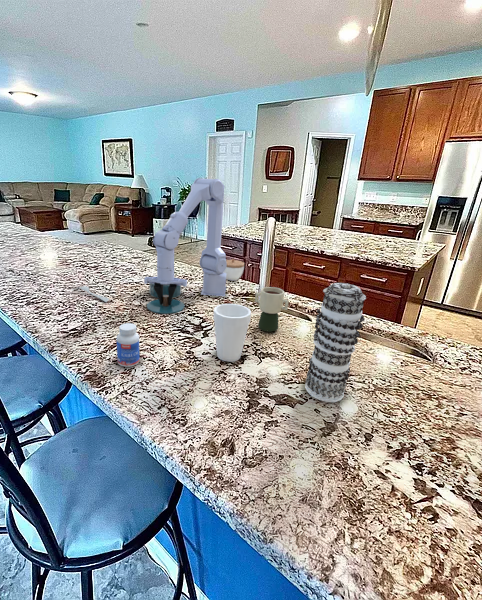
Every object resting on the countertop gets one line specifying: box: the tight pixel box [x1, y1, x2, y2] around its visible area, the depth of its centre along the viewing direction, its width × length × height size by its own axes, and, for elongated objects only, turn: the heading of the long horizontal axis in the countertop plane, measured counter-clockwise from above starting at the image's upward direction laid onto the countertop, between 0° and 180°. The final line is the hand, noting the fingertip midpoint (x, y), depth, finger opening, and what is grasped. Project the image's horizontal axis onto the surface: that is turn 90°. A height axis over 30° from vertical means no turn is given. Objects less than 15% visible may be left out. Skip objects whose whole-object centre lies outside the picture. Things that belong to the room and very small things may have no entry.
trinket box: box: [223, 258, 245, 282], centre depth 149 cm, size 11×11×9 cm
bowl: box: [148, 276, 182, 299], centre depth 126 cm, size 12×12×6 cm
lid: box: [146, 295, 185, 315], centre depth 113 cm, size 13×13×5 cm
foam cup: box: [212, 303, 252, 363], centre depth 83 cm, size 10×9×13 cm
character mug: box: [254, 286, 289, 333], centre depth 99 cm, size 11×7×13 cm, turn 54°
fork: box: [75, 285, 110, 303], centre depth 122 cm, size 3×21×3 cm, turn 54°
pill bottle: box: [116, 322, 140, 368], centre depth 79 cm, size 6×5×10 cm
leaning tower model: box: [304, 282, 367, 403], centre depth 69 cm, size 9×9×25 cm
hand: (165, 303), depth 113 cm, fingers closed on lid, 2 cm apart
